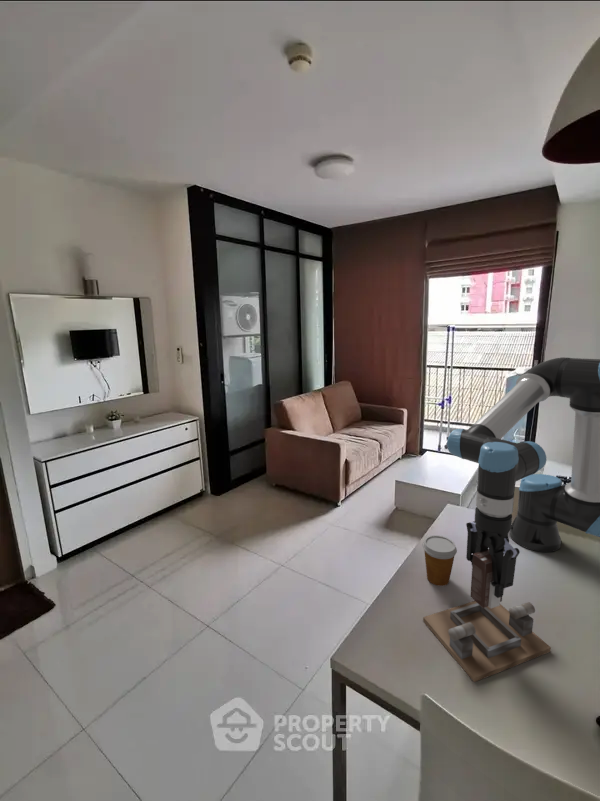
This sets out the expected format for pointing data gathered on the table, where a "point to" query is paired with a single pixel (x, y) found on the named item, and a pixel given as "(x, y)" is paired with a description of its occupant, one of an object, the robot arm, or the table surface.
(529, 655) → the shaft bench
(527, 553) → the table surface
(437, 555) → the disposable coffee cup
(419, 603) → the table surface
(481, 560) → the box
